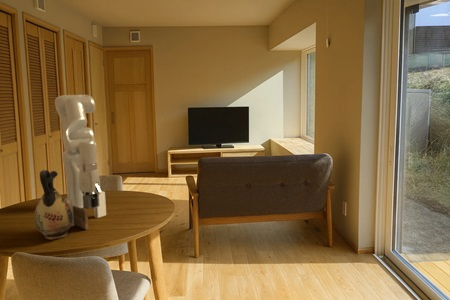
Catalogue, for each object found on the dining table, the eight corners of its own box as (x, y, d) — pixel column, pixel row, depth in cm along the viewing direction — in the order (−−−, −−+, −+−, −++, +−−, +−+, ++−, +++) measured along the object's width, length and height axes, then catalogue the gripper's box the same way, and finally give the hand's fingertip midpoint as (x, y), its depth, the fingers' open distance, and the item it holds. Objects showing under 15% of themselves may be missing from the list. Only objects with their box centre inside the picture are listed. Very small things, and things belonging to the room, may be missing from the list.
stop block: (83, 208, 201) (82, 195, 200) (93, 205, 206) (93, 192, 205) (89, 209, 199) (88, 196, 198) (99, 206, 204) (98, 193, 203)
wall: (62, 227, 200) (59, 202, 198) (103, 214, 219) (101, 191, 217) (65, 228, 198) (63, 203, 196) (106, 215, 218) (105, 191, 216)
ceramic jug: (44, 230, 196) (38, 165, 192) (78, 229, 196) (73, 164, 192) (28, 244, 179) (21, 173, 175) (65, 243, 179) (59, 172, 175)
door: (75, 223, 205) (74, 205, 203) (88, 228, 196) (87, 210, 195) (69, 224, 203) (67, 206, 201) (82, 230, 194) (80, 212, 192)
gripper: (70, 167, 201) (73, 205, 204) (94, 170, 192) (96, 210, 195) (83, 164, 208) (86, 201, 210) (107, 167, 198) (109, 206, 201)
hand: (91, 205), depth 202 cm, fingers closed on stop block, 4 cm apart
